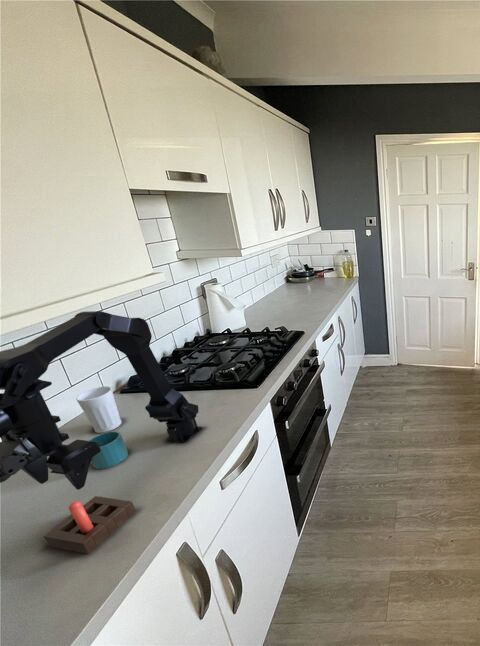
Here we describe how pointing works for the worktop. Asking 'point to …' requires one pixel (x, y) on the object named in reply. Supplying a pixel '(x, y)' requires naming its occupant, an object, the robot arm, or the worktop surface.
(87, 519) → the red rod
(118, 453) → the teal round container
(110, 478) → the worktop surface
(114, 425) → the cup
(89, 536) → the stand
